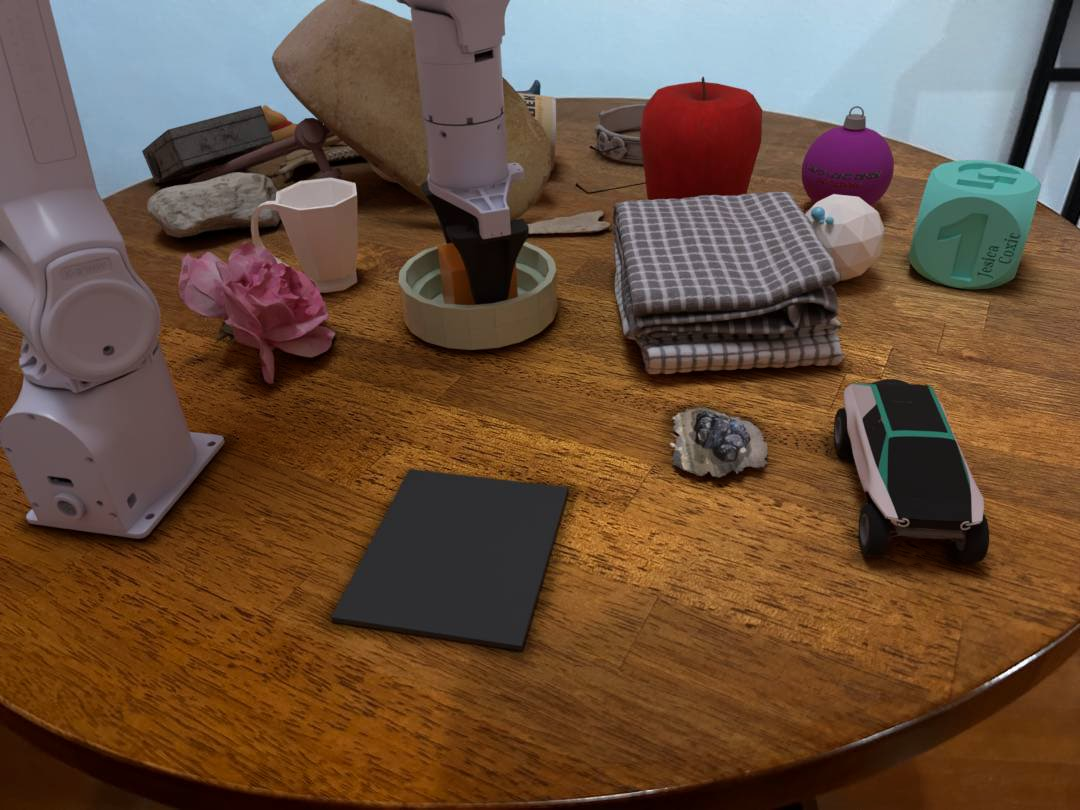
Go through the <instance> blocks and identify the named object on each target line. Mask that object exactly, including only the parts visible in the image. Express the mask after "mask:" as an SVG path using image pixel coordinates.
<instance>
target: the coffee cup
mask: <svg viewBox="0 0 1080 810" xmlns="http://www.w3.org/2000/svg"><path fill="white" fill-rule="evenodd" d="M518 94H519V95H520V96H521V97H522V99H523V100H524V102H525V103H526V106H527V107H528V109H529V111H530V112H531V114H532V116H533V117H534V118H535V119H536V120H537V121H538V122H539V123H540V124H541V126H542V127H543V128H544V130H545V133H546V135H547V136H548V138H549V141H550V146H551V152H552V169H551V172H553V171H554V168H555V158H556V144H557V143H556V142H557V141H556V139H557V104H556V103H557V102H556V97H554V96H551V95H549V96H548V95H541V94H540V95H533V94H523V93H518Z"/></svg>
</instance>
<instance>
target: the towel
mask: <svg viewBox="0 0 1080 810" xmlns="http://www.w3.org/2000/svg"><path fill="white" fill-rule="evenodd" d="M612 223H613V225H614V226H613V230H612V233H613V236H614V242H613V253H614V255H613V259H614V264H615V273H614V274H615V275H614V295H615V299H616V303H617V306H618V310H619V316H620V320H621V325H622V332H623V337H625V338H627V339H628V340H634V341H635V343H636V344H637V345H638V347H640V353H641V356H642V359H643V364H644V366H645V369H644V370H645V372H646V373H647V374H648V375H659V374H663V375H670V374H671V375H673V374H675V373H691V372H692V371H694V372H697V371H698V372H701V371H702V372H703V371H707V370H708V371H722V370H725V371H726V370H727V371H733V370H734V371H735V370H737V369H739V370H749V369H753V368H756V369H757V368H758V369H765V368H775V369H778V368H783V367H784V368H785V369H788V368H791V369H792V368H796V367H798V366H799V367H809V366H811V365H813V366H817V367H821V366H822V367H826V366H837V365H840V364H841V363H842V362H843V361H844V358H845V355H844V352H843V349H842V346H841V339H840V337H839V336H838V334H837V333H838V332H839V331H840V330H841V329H842V324H841V322H840V321H839V320H838V319H837V318H836V317H838V315H839V314H840V309H839V303H838V295H837V292H836V291H835V288H834V287H833V285H835V284H837V283H838V282H841V281H840V280H841V279H842V275H841V272H840V271H839V270H838V269H836V268H835V261H834V260H835V259H834V258H833V257H832V256H830V253H829V252H828V251H827V249H826V247H825V246H824V245H823V243H822V242H821V241H820V239H819V238H818V236H817V234H816V232H815V230H814V228H813V226H812V224H811V221H810V220H809V218H808V217H807V216H806V215H805V212H803V210H802V208H801V207H800V206H799V204H798V201H797V199H796V198H795V197H794V194H792V193H791V192H790V191H782V192H781V191H779V190H772V191H769V192H763V191H761V192H760V191H759V192H758V191H757V192H752V193H748V192H747V194H741V195H739V196H735V195H732V196H727V195H726V196H721V195H711V196H708V195H704V196H698V197H690V198H683V199H668V200H665V199H654V200H648V198H647V199H642V198H641V199H640V200H633V199H631V200H630V199H628V200H626V201H618V202H616V203H614V204H613V213H612Z"/></svg>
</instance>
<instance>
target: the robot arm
mask: <svg viewBox="0 0 1080 810" xmlns="http://www.w3.org/2000/svg"><path fill="white" fill-rule="evenodd" d="M510 1H511V0H396V2H397V3H399V4H401V5H402V4H403V5H405V6H407V7H408V8H410V10H409V11H410V16H411V17H410V19H411V21H412V27H413V35H414V44H415V53H416V61H417V70H418V78H419V87H420V96H421V104H422V113H423V122H424V131H425V140H426V148H427V157H428V165H429V174H428V177H427V182H424V183H423V184H422V185H421V188H422V190H423V192H424V194H425V195H426V196H427V198H428V199H429V201H430V202H431V204H432V206H433V207H432V206H431V207H432V208H433V211H434V212H435V214H436V217H437V219H438V221H439V224H440V227H441V229H442V234H443V237H444V240H445V243H446V244H448V243H453V244H454V246H455V247H456V249H457V250H458V252H459V254H460V256H461V258H462V261H463V263H464V266H465V269H466V273H467V276H468V280H469V284H470V289H471V292H472V296H473V299H474V302H475V305H479V304H491V303H496V302H500V301H505V300H508V296H509V290H510V284H511V279H512V274H513V269H514V266H515V262H516V260H517V257H518V254H519V252H520V250H521V248H522V246H523V244H524V243H525V242H527V240H528V238H529V235H530V234H529V226H528V225H527V224H528V223H527V222H526V220H524V218H517V219H516V220H511V221H510V211H509V207H508V206H507V203H508V198H509V192H510V187H511V183H512V182H514V181H519V180H523V179H524V169H523V168H522V167H521V165H520V164H518V163H508V160H507V144H506V128H505V111H504V94H503V78H504V77H503V66H502V64H503V63H502V47H501V45H502V43H503V37H505V36H506V26H505V25H506V24H505V23H506V22H505V17H506V11H507V8H508V5H509V4H510ZM63 53H64V52H63V50H62V45H61V41H60V37H59V33H58V29H57V25H56V21H55V17H54V13H53V10H52V6H51V1H50V0H0V312H1V314H3V315H5V316H6V317H7V318H9V320H11V322H12V323H13V324H14V325H15V326H16V327H17V329H19V330H20V332H21V333H22V334H23V336H22V340H21V348H20V357H19V359H18V364H19V365H18V366H19V367H20V370H21V372H22V375H23V379H22V387H21V389H20V392H19V395H18V397H17V400H16V401H15V403H13V405H12V407H11V409H10V410H9V411H8V412H7V413H6V414H5V416H3V418H2V420H1V421H0V446H1V449H2V452H3V453H4V455H5V458H6V459H7V461H8V463H9V465H10V467H11V469H12V472H13V474H14V475H15V477H16V479H17V481H18V483H19V485H20V486H21V489H22V491H23V493H24V496H25V497H26V499H27V501H28V504H29V505H30V507H31V509H30V510H29V511H28V512H27V514H26V516H25V519H26V521H27V523H28V524H31V525H38V526H42V527H51V528H58V529H66V530H73V531H81V532H87V533H94V534H102V535H107V536H116V537H121V538H129V539H135V540H138V539H139V540H140V539H141V540H142V539H144V538H146V537H148V536H149V535H150V533H152V531H154V529H155V528H156V526H157V525H158V524H159V523H160V521H162V519H163V518H164V517H165V516H166V514H167V513H168V512H169V511H170V510H171V508H172V507H173V506H174V505H175V504H176V503H177V501H178V500H179V499H180V498H181V496H182V495H184V493H185V491H187V489H188V488H189V487H190V486H191V484H192V483H193V482H194V481H195V480H196V478H197V477H198V476H199V475H200V474H201V472H203V470H204V469H205V468H206V466H207V465H208V464H209V462H211V460H212V459H213V458H214V457H215V455H217V453H218V452H219V451H220V449H221V448H222V447H223V446H224V444H225V439H224V436H223V435H220V434H212V433H204V432H202V433H201V432H195V431H194V432H193V431H190V429H189V426H188V424H187V420H186V417H185V414H184V411H183V409H182V405H181V403H180V399H179V396H178V394H177V391H176V387H175V384H174V382H173V379H172V376H171V373H170V370H169V367H168V364H167V361H166V358H165V355H164V353H163V349H162V346H161V343H160V341H159V335H160V332H161V326H162V313H161V310H160V304H159V302H158V300H157V298H156V295H155V294H154V293H153V291H152V289H151V288H150V287H149V286H148V285H147V284H146V283H145V282H144V280H143V279H141V278H140V277H139V275H138V274H137V272H136V271H135V270H134V267H133V266H132V264H131V262H130V259H129V256H128V252H127V246H126V243H125V240H124V238H123V236H122V234H121V232H120V230H119V228H118V227H117V225H116V222H115V221H114V219H113V218H112V216H111V213H110V211H109V210H108V208H107V207H106V205H105V203H104V201H103V199H102V197H101V194H100V193H99V191H98V188H97V185H96V180H95V176H94V172H93V168H92V165H91V159H90V156H89V153H88V149H87V145H86V141H85V136H84V132H83V129H82V123H81V120H80V116H79V113H78V109H77V104H76V99H75V97H74V93H73V89H72V85H71V81H70V77H69V73H68V70H67V65H66V61H65V56H64V54H63ZM502 77H503V78H502Z"/></svg>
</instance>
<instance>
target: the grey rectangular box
mask: <svg viewBox="0 0 1080 810" xmlns="http://www.w3.org/2000/svg"><path fill="white" fill-rule="evenodd" d="M262 107H263V106H262V105H257V106H253V107H249V108H245V109H241V110H237V111H234V112H230V113H226V114H223V115H219V116H215V117H211V118H207V119H204V120H199V121H196V122H192V123H188V124H184V125H180V126H176V127H172V128H169V129H167V130H165V131H164V132H163V133H162V134H160V135H159V136H158V137H157V138H155V140H153V141H151V143H150V144H149V145H146V146H145V148H144V149H142V150H141V153H142V155H143V158H144V159H145V162H146V165H147V167H148V169H149V171H150V174H151V176H152V179H153V181H154V184H159V183H162V182H165V181H170V180H172V179H176V178H179V177H182V176H186V175H190V174H193V173H196V172H200V171H203V170H207V169H212V168H215V167H217V166H220V165H222V164H224V163H227V162H229V161H231V160H234V159H236V158H238V157H241V156H243V155H246V154H248V153H251V152H253V151H256V150H258V149H261V148H263V146H265V145H267V144H269V143H272V142H274V139H273V136H272V133H271V131H270V128H269V125H268V123H267V120H266V118H265V115H264V112H263V110H262Z"/></svg>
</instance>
